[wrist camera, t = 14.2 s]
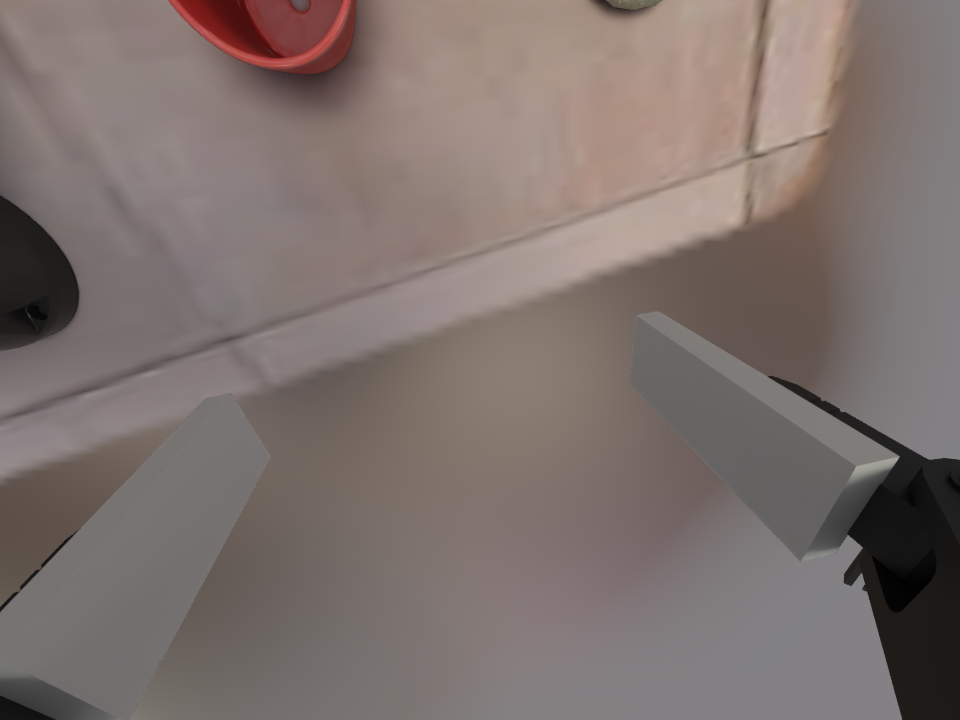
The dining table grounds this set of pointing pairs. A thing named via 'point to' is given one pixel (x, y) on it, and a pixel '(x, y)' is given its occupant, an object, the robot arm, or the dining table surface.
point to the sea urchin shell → (633, 3)
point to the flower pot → (275, 31)
